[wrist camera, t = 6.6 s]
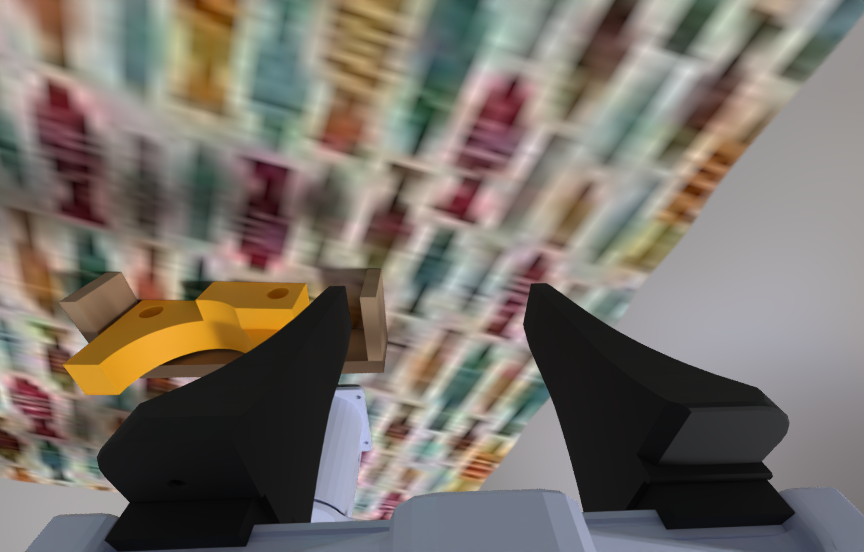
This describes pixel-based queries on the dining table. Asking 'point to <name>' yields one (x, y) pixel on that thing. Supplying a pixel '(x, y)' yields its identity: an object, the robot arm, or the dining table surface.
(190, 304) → the pipe clamp
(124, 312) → the bracket
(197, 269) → the dining table surface
